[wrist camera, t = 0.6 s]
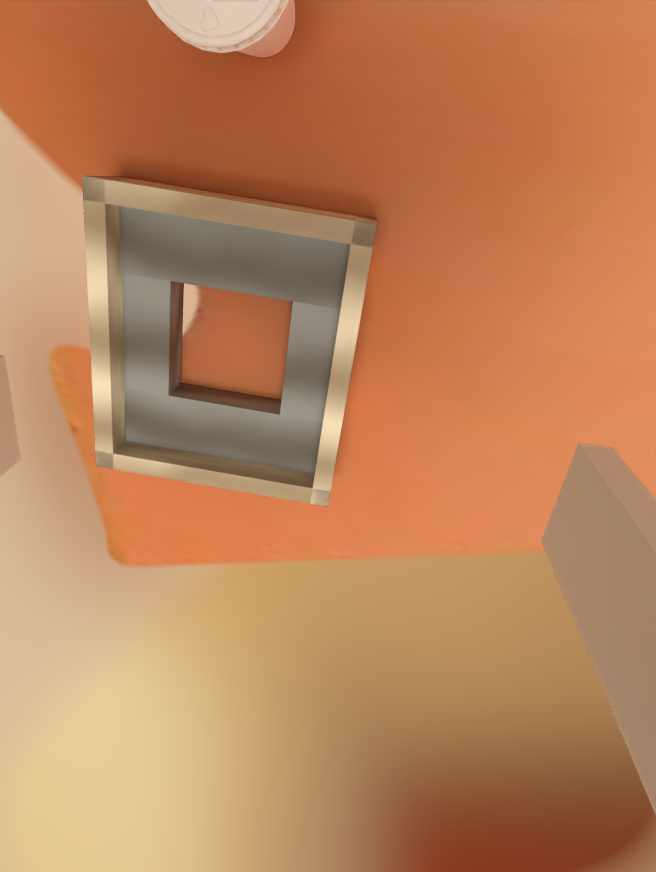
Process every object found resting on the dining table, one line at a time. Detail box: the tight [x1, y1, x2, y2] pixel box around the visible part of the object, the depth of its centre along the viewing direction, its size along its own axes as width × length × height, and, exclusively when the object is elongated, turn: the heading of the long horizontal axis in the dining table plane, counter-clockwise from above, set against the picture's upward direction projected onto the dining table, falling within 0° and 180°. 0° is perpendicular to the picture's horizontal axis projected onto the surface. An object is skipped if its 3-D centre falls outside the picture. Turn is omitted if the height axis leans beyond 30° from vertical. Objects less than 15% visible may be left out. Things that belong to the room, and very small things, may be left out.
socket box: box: [82, 176, 377, 506], centre depth 35 cm, size 18×16×4 cm
